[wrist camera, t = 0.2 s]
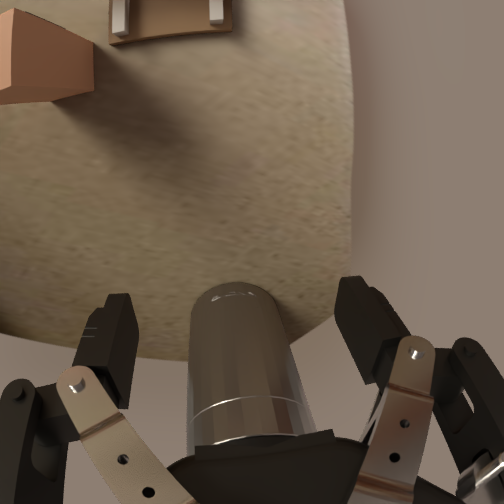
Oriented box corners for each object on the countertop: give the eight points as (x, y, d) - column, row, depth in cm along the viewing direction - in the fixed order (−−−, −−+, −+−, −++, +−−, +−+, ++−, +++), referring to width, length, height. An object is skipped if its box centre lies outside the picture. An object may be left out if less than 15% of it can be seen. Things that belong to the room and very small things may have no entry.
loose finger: (94, 90, 22) (11, 85, 11) (50, 101, 22) (-45, 110, 10) (93, 38, 20) (14, 1, 8) (48, 51, 20) (-43, 32, 8)
